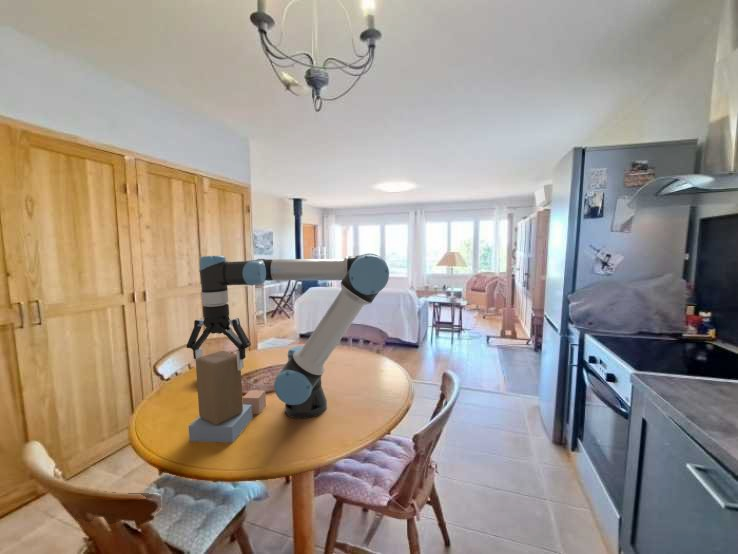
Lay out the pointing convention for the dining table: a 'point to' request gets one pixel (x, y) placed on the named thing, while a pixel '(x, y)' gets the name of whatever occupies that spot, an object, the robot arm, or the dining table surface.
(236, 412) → the wooden block
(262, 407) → the terracotta cube
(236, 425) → the plinth
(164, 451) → the dining table surface
